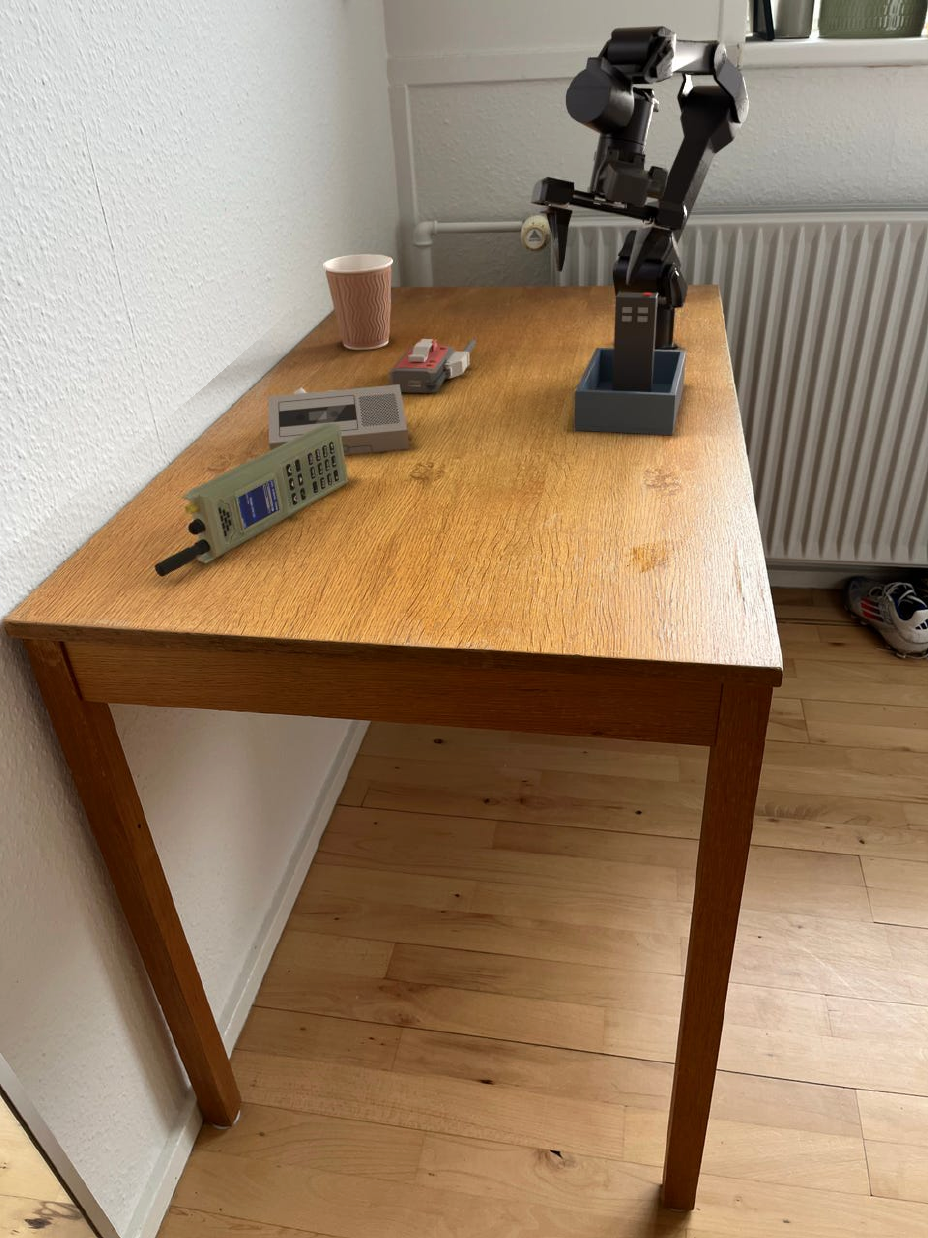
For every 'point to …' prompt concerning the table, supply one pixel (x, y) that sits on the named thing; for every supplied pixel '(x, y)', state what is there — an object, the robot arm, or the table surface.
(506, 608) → the table surface
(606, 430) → the tote
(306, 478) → the handheld radio
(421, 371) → the walkie-talkie
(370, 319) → the coffee cup
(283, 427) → the cassette player
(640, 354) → the block
